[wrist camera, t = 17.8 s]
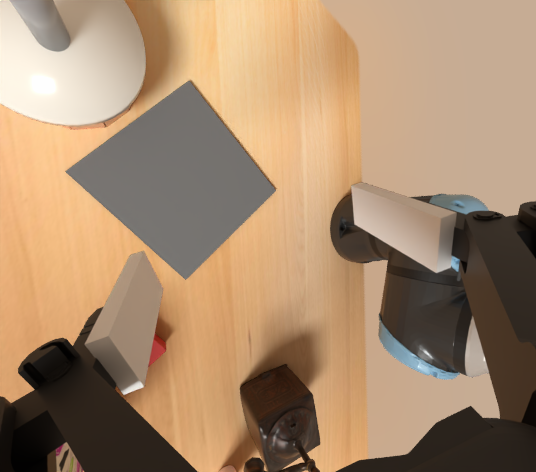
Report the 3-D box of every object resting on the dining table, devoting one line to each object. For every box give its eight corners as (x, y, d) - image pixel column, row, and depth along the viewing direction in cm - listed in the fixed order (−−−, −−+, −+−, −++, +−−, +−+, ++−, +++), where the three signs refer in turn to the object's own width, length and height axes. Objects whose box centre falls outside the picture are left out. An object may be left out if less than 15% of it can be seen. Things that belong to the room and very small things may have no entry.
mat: (188, 82, 40) (189, 80, 39) (274, 190, 47) (275, 190, 46) (66, 172, 34) (65, 171, 34) (185, 279, 42) (185, 279, 41)
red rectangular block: (165, 342, 41) (167, 362, 36) (129, 375, 39) (124, 402, 34) (129, 309, 39) (124, 325, 33) (88, 342, 37) (76, 366, 31)
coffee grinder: (286, 359, 51) (349, 428, 34) (295, 407, 53) (359, 494, 36) (210, 395, 45) (243, 499, 28) (223, 448, 47) (260, 574, 30)
